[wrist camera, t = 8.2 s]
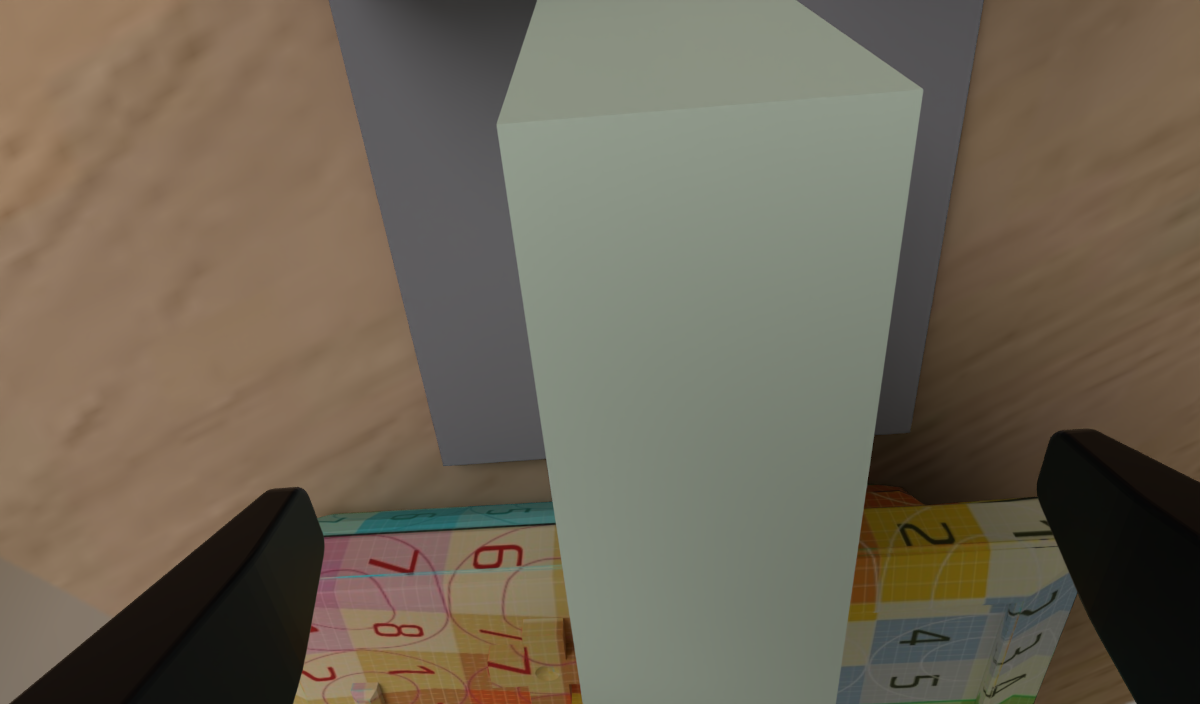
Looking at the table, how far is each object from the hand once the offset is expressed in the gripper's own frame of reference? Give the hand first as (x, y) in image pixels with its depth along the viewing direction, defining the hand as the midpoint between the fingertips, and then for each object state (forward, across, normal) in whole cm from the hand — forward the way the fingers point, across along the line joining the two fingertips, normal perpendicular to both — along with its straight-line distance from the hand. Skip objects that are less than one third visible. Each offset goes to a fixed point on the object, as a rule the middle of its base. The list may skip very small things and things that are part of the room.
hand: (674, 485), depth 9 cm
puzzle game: (+9, 0, +13) cm, 16 cm away
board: (+8, 0, 0) cm, 8 cm away
